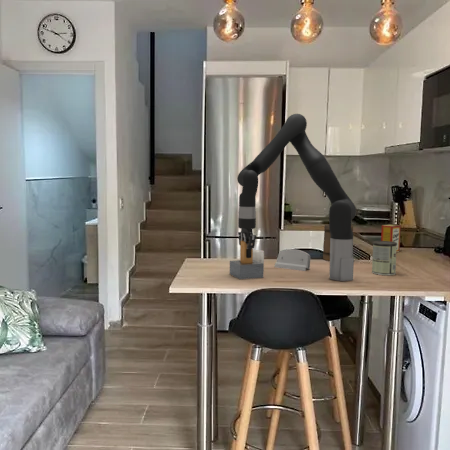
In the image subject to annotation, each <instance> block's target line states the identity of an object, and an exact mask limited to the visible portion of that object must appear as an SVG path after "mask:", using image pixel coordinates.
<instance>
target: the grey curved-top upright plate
mask: <svg viewBox="0 0 450 450" xmlns="http://www.w3.org/2000/svg"><path fill="white" fill-rule="evenodd" d="M274 268H278V269H284V270H285V269H286V270H287V269H288V270H294V271H302V272H306V271H307V270H311V255H310V254H309V253H307V252H306V251H304V250H300V249H295V248H289V249H287V248H286V249H282V250H279V252H278V254H277V259H276V262H275V263H274Z"/></svg>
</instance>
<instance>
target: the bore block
mask: <svg viewBox="0 0 450 450" xmlns="http://www.w3.org/2000/svg"><path fill="white" fill-rule="evenodd" d="M264 268H265V263H264V264H263V263H261V262H258V261H255V260H253V263H245V264H243V263H240V259H238V260H229V275H230V274H231V275H230V276H232V275H233V276H232V277H234V278H235V279H239V280H246V279H249V280H250V279H261V278H264Z"/></svg>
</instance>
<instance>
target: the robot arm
mask: <svg viewBox="0 0 450 450" xmlns="http://www.w3.org/2000/svg"><path fill="white" fill-rule="evenodd" d="M307 124H308V121H307V119H306V117H305V116H304V115H303V114H300V113H293V114H291V115H289V116H288V117H287V119H286V120H285V122H284V124H283V125H282V127H281V128H280V130H279V131H278V132H277V134H275V136H274V137H273V138H272V139H271V141H270V142H269V143H268V144H267V145H266V146H265V147H264V148H263V149H262V150H261V152H259V154H258V155H256V156H255V158H254V159H253V160H252V161H251V162H250V163H248V164H247V165H246V166H244V168H242V170H241V171H240V172H239V173H238V175H237V180H236V181H237V183H238V184H239V185H240V186H242V191H241V193H240V194H239V197H238V200H239V201H238V211H237V212H238V215H237V216H238V218H237V219H238V220H237V221H238V222H237V228H238V229H241V230H240V231H238V232H237V233H238V235H237V237H238V243H239V246H241V241H244V242H245V244H246V258H251V251H252V248H253V249H254V248H255V246H256V239H257V235H256V234H254V231H253V230H255V229H256V228H257V227H256V226H257V211H256V210H257V209H256V201H257V199H256V197H257V192H258V188H259V187H258V186H259V175H260V174H261V175H262V174H263V173H265V172H266V171H268V169H269V168H270V167H271V166H272V165H273V164H274V163H275V162H276V160H277V159H278V157H279V156H280V155H281V154H282V151H284V149H285V148H286V146H287V145H288V144H289V143H290V144H291V145H292V147H293V148H294V149H295V151H296V152H297V154H298V156H299V157H300V160H301V162H302V164H303V165H304V166H305V169H306V171H307V173H308V174H309V176H310V178H311V180H312V181H313V182H314V183H315V184H316V186H317V187H318V188H319V189H320V190H321V191H322V192H323V193H324V194H325V195H326V196H327V198H328V200H329V202H330V203H331V205H330V208H329V212H328V213H329V214H328V215H329V216H328V220H329V223H328V224H329V230H330V234H331V240H330V261H329V279H330V280H332V281H339V282H348V281H349V282H350V281H354V265H355V264H354V261H355V259H354V256H353V255H354V253H353V250H354V232H352V229H351V225H352V220H353V219H354V218H355V216H356V214H357V208H356V205H355V203H354V202H353V201H352V199H350V197H349V196H348V194H347V193H346V192H345V190H344V188H343V187H342V186H341V183H340V182H339V180H338V178H337V176H336V174H335V173H334V170H333V169H332V167H331V165H330V163H329V162H328V160H327V158H326V157H325V156H324V154H323V153H322V152H321V151H320V150H318V149H317V148H316V147H315V146H314V145H313V144H312V142H311V140H310V139H309V137H308V135H307V133H306V129H307V126H308V125H307ZM247 241H249V242H247ZM252 243H253V244H252Z"/></svg>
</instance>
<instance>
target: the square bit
mask: <svg viewBox="0 0 450 450" xmlns="http://www.w3.org/2000/svg"><path fill="white" fill-rule="evenodd" d="M247 242H249V241H247ZM252 244H253V243H252ZM253 250H254V248H252V251H251V258H246V244H245V242H244V241H241V245H240V256H239V257H240V258H239V260H240V263H243V264H245V263H253Z"/></svg>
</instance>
